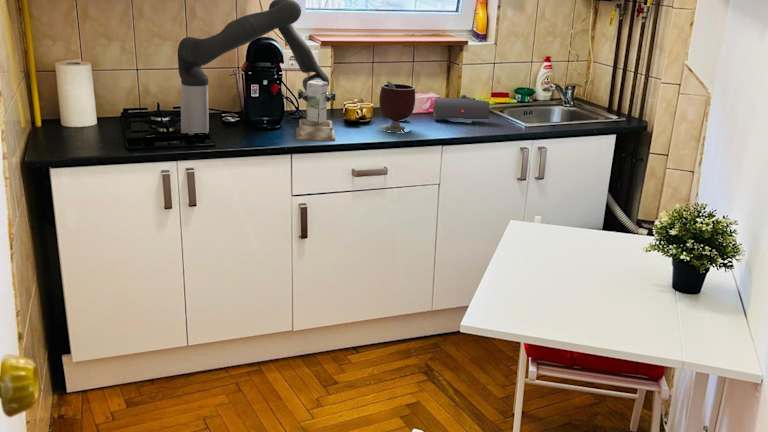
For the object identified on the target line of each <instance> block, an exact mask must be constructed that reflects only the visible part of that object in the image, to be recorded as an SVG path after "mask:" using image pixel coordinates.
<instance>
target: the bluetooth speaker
mask: <svg viewBox="0 0 768 432" xmlns="http://www.w3.org/2000/svg"><path fill="white" fill-rule="evenodd" d="M490 104H491V103H490V101H488V100H481V99H471V98H458V97H457V98H456V97H435V98H434V104H433V118H434V119H439V118H463V119H488V120H489V119H490Z"/></svg>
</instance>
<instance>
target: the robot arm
mask: <svg viewBox="0 0 768 432" xmlns="http://www.w3.org/2000/svg"><path fill="white" fill-rule="evenodd" d="M301 15H302V7H301V4H300V3H299V2H298V1H296V0H272V1H271V2H270V3H269V6H268V10H264V11H259V12H254V13H250V14H246V15H243V16H241V17H240V16H239V17H238V18H236V19H233V20H231V21H230V22H228V23H227V24H226V25H225V26H224V28H222V30H221V31H220V32H218V33H217V34H214V35H212V36H209V37H205V38H200V37H199V38H198V37H194V36H186V37H183V38H182V39H181V40H180V42H179V43H178V47H177V65H178V66H177V67H178V74H179V78H180V83H181V106H180V134H186V133H188V134H187V135H194V133H206V134H208V133H209V130H210V129H209V128H210V127H209V126H210V124H209V123H210V122H209V121H210V120H209V77H208V75H207V74H206V73H205V72H204V70H203V68H202V67H203V66H205V65H207V64H209V63H211V62H213V61H215V60H216V59H217V58H219V57H221V56H223V55H225V54H226V53H228V52H230V51H233V50H235V49H237V48H240V47H241V46H245V45H247V44H249V43H252V42H253V41H255V40H257V39H259V38H261V37H263V36H265V35H267V34H269V33H270V32H273V31H274V30H278V31H279V33H280V34H281V36H282V37H283V39H284V41H285V42H286V45H288V47H289V49H290V50H291V52H292V55H293V57H294V59H295V61H296V64H297V65H298V67H299V70H300V72H301V73H304V74H305V73H306V74H307V73H313V74H310V75H308V76H306V77H305V78H304V79H303V80H302V88H303V90H302V89H297V90H298V91H297V99H298V100H303V101H304V102H307V82H309V81H312V80H316V81H323V82H328V87H329V85H330V79H329V76H327V74H326V73H325V72H324V70H323V69H322V68H321V66H319V64H318V62H317V60H316V58H315V56H314V54H313V51H312V50H311V48H310V45H308V44H307V41H305V39H304V38H303V37H301V35H300V34H299V33H298V31H297V30H296V28H295V27H294V25H293V24H294V23H296V22H297V21H299V19H300V17H301ZM336 94H337V93H336V91H335V90H332V91H330V92H329V91H327V103H330V102H331V101H333V102H335V101H336Z"/></svg>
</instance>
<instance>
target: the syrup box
mask: <svg viewBox="0 0 768 432" xmlns="http://www.w3.org/2000/svg"><path fill="white" fill-rule="evenodd" d="M328 87H329V86H328V82H323V81H316V80H312V81H309V82H307V101H306V103H305V104H306V108H305V110H306V111H305V113H306V114H305V120H306V121H310V122H316V123H321V122H324V121H326V120H327V105H328V102H327V92H328Z"/></svg>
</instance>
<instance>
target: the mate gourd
mask: <svg viewBox="0 0 768 432" xmlns="http://www.w3.org/2000/svg"><path fill="white" fill-rule="evenodd" d="M415 88H416V87H415V86H414V85H410V84H406V83H405V84H404V83H392V82H391V81H389V80H387V81H386V83H383V84H382V85H381V88H380V93H379V98H378V99H379V109H380V112H381V114H382V115H383V117H385V118H387V119H389V120H390V121H391V124H384V125H380V126H379V130H380V129H382V130H385V131H391V132H402V131H403V132H405V131H404V129H405V127H403V126H404V125H401V122H399V121H401V120H403V119H406V118H408V117H409V118H410V116H411V115H412V114H413V112H414V109H415V106H416V90H415ZM401 130H402V131H401Z"/></svg>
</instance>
